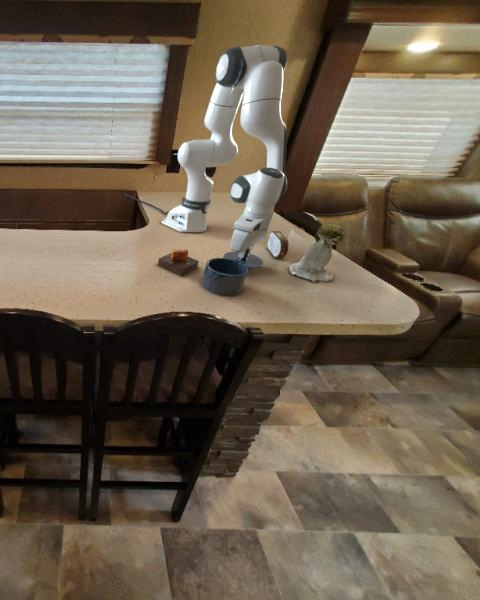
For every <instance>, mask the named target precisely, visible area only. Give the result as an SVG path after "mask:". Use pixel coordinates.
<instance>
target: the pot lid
mask: <svg viewBox="0 0 480 600" xmlns="http://www.w3.org/2000/svg"><path fill="white" fill-rule="evenodd" d="M249 251H250V248H247V250H246V252H245V253H246V255H245V257H244V258H239V257H238V256H239V252H235V251H228V252H226V253H224V255H223V256H222V258H227V259H233V260H236V259H237V260H240V261H243V263H242V264H244V265H245V266H246V267H247V268H248V270H257V269H260V268H261V267H262V266H263V265H264V261H263V260H262V258H260V257H259V256H258V255H254V254H252V253H250V254H249ZM248 254H249V255H248Z"/></svg>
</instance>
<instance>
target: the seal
mask: <svg viewBox="0 0 480 600" xmlns="http://www.w3.org/2000/svg"><path fill="white" fill-rule="evenodd" d="M171 253H172V256H171V260H177V261H187V257H189V251H188V249H172V251H171Z"/></svg>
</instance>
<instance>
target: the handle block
mask: <svg viewBox="0 0 480 600" xmlns="http://www.w3.org/2000/svg"><path fill="white" fill-rule="evenodd" d="M171 256H172V252H170V253H167V254H166V255H164V256H161V257H159V258H158V261H157V266H158V267H160V268H162V269H165V270H167V271H169V272H172V273H174V274H176V275H178V276H180V277H183V276H185V275H187V274H189V273H191V272H192V271H194V270H196V269H198V267H199V262H200V260H197V259H196V258H193V257H190V256H188V257H187V261H177V260H171Z"/></svg>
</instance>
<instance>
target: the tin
mask: <svg viewBox="0 0 480 600" xmlns="http://www.w3.org/2000/svg"><path fill="white" fill-rule="evenodd" d="M266 247H267V250H268V251H269V253H270V254H271V255H272V256H273V257H274V258H275V259H285V257H286V256H287V254H288V251H289V239H288V237H286V236H285V234H284V233H283V232H282V231H281V230H272V231H270V233H269V235H268V238H267V241H266Z"/></svg>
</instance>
